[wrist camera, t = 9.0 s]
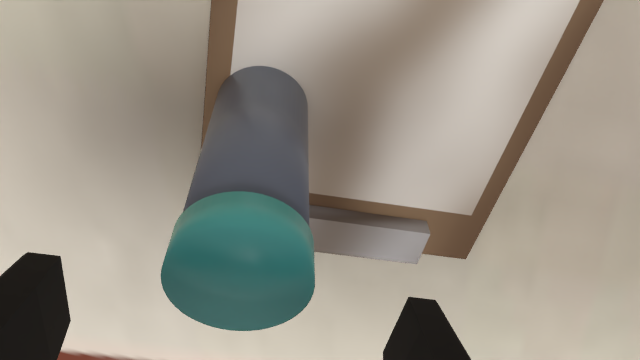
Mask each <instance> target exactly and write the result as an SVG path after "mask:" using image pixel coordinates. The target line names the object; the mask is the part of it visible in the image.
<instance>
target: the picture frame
mask: <svg viewBox="0 0 640 360" xmlns="http://www.w3.org/2000/svg"><path fill="white" fill-rule="evenodd" d="M603 1H604V0H211V14H210V29H209V43H208V58H207V72H206V87H205V101H204V116H203V130H202V145H201V149H202V146H203V142H204V139H205V135H206V132H207V129H208V125H209V122H210V118H211V115H212V112H213V108H214V105H215V101H216V98H217V95H218V92H219V89H220V87H221V85H222V84H223V83H224V81H225V80H226V79H227V78H228V77H229V76H230V75H232V74H233V73H235V72H237V71H238V70H241V69H243V68H247V67H251V66H268V67H273V68H276V69H279V70H281V71H283V72H285V73H287V74H288V75H290V76H291V77H292V78H294V79H295V80H296V81H297V82H298V84H299V85H300V86H301V88H302V89H303V91H304V93H305V95H306V99H307V103H308V156H309V228H310V230H311V232H312V235H313V240H314V252H322V253H330V254H338V255H346V256H355V257H363V258H371V259H379V260H387V261H395V262H403V263H411V264H417V263H418V260H419V258H420V256H421V254H429V255H437V256H445V257H453V258H461V259H466V258H467V256H468V254H469V252H470V250H471V248H472V246H473V245H474V243H475V241H476V239H477V237H478V235H479V233H480V231H481V230H482V228H483V226H484V224H485V222H486V220H487V218H488V216H489V215H490V213H491V211H492V209H493V207H494V205H495V203H496V201H497V199H498V198H499V196H500V194H501V192H502V190H503V188H504V186H505V184H506V183H507V181H508V179H509V177H510V175H511V173H512V171H513V169H514V168H515V166H516V164H517V162H518V160H519V158H520V156H521V154H522V153H523V151H524V149H525V147H526V145H527V143H528V141H529V139H530V138H531V136H532V134H533V132H534V130H535V128H536V126H537V124H538V123H539V121H540V119H541V117H542V115H543V113H544V111H545V109H546V108H547V106H548V104H549V102H550V100H551V98H552V96H553V94H554V93H555V91H556V89H557V87H558V85H559V83H560V81H561V79H562V78H563V76H564V74H565V72H566V70H567V68H568V66H569V64H570V62H571V61H572V59H573V57H574V55H575V53H576V51H577V49H578V47H579V46H580V44H581V42H582V40H583V38H584V36H585V34H586V32H587V31H588V29H589V27H590V25H591V23H592V21H593V19H594V17H595V16H596V14H597V12H598V10H599V8H600V6H601V4H602V2H603Z"/></svg>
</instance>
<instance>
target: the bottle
mask: <svg viewBox="0 0 640 360" xmlns="http://www.w3.org/2000/svg"><path fill="white" fill-rule="evenodd" d="M161 282H162V286H163V289H164V291H165V294H166V295H167V297H168V298H169V300H170V301H171V302H172V303H173V305H174V306H175V307H176V308H178V309H179V310H180V311H181V312H182V313H184V314H185V315H187V316H188V317H190V318H192V319H194V320H196V321H198V322H200V323H203V324H206V325H209V326H212V327H216V328H220V329H226V330H235V331H251V330H260V329H266V328H270V327H273V326H277V325H279V324H282V323H284V322H286V321H288V320H290V319H292V318H293V317H295V316H296V315H298V314H299V313H300V312H301V311H302V310H303V309H304V308H305V307H306V306H307V304H308V303H309V301H310V300H311V297H312V295H313V292H314V287H315V273H314V240H313V235H312V232H311V230H310V228H309V156H308V103H307V99H306V95H305V93H304V91H303V89H302V88H301V86H300V85H299V84H298V82H297V81H296V80H295V79H294V78H292V77H291V76H290V75H288V74H287V73H285V72H283V71H281V70H279V69H276V68H273V67H268V66H251V67H247V68H243V69H241V70H238V71H237V72H235V73H233V74H232V75H230V76H229V77H228V78H227V79H226V80H225V81H224V83H223V84H222V85H221V87H220V89H219V92H218V95H217V98H216V101H215V105H214V108H213V112H212V115H211V118H210V122H209V125H208V129H207V132H206V135H205V139H204V142H203V146H202V149H201V153H200V156H199V159H198V163H197V166H196V170H195V173H194V177H193V180H192V183H191V187H190V190H189V194H188V197H187V200H186V204H185V207H184V211H183V213H182V214H181V215H180V217H179V218H178V220H177V222H176V224H175V226H174V229H173V233H172V236H171V239H170V243H169V246H168V249H167V252H166V256H165V259H164V262H163V266H162V270H161Z"/></svg>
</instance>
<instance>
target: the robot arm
mask: <svg viewBox="0 0 640 360" xmlns="http://www.w3.org/2000/svg"><path fill="white" fill-rule="evenodd" d="M70 321H71V320H70V314H69V308H68V301H67V295H66V289H65V282H64V276H63V270H62V263H61V257H60V256H55V255H46V254H38V253H29V252H28V253H26V254H25V255H23V256H22V257H21V258H20V259H19V260H17V261H16V262H15V263H14V264H13V265H12V266H11V267H10V268H9V269H8V270H6V271H5V272H4V273H3V274H2V275H1V276H0V360H57V358H58V355H59V353H60V350H61V347H62V344H63V341H64V338H65V335H66V332H67V329H68V326H69V324H70ZM383 360H471V359H470V357H469V355H468V354H467V352H466V350H465V349H464V347H463V345H462V344H461V342H460V340H459V339H458V337H457V335H456V334H455V332H454V330H453V328H452V327H451V325H450V323H449V322H448V320H447V318H446V317H445V315H444V313H443V311H442V310H441V308H440V306H439V305H438V303H437V302H436V300H430V299H422V298H413V297H408V299H407V302H406V304H405V306H404V308H403V310H402V312H401V314H400V317H399V319H398V321H397V323H396V325H395V327H394V329H393V332H392V334H391V336H390V338H389V340H388V342H387V344H386V347H385V349H384V351H383Z"/></svg>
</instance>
